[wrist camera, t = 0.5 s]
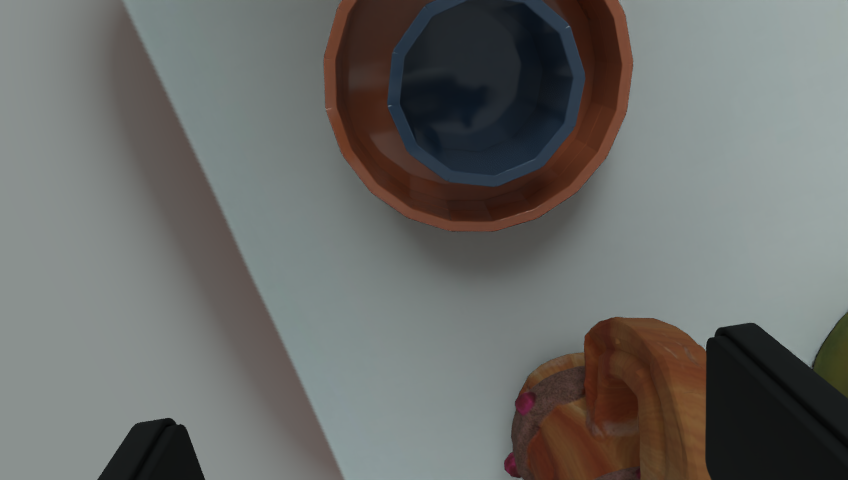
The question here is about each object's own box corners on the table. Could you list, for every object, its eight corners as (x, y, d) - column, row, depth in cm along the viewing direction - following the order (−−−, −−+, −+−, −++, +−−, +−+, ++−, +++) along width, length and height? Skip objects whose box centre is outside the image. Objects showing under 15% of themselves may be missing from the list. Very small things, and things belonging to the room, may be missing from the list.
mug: (617, 466, 37) (756, 737, 23) (490, 463, 36) (551, 740, 22) (665, 250, 32) (879, 425, 18) (518, 244, 31) (619, 419, 17)
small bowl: (358, 95, 28) (350, 111, 23) (456, -44, 26) (471, -62, 21) (481, 187, 30) (499, 220, 24) (580, 62, 28) (623, 70, 23)
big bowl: (281, 106, 28) (264, 118, 25) (444, -140, 25) (453, -169, 21) (487, 252, 31) (499, 283, 28) (655, 50, 28) (695, 54, 24)
